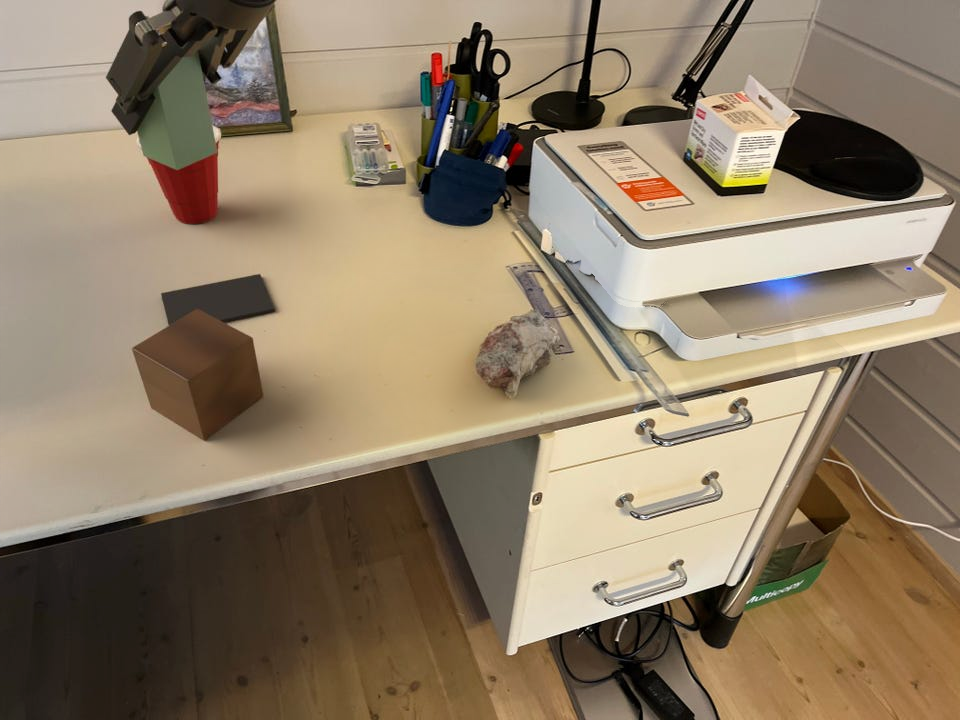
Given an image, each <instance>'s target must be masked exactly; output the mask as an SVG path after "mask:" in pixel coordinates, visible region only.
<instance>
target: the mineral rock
mask: <svg viewBox="0 0 960 720" xmlns="http://www.w3.org/2000/svg"><path fill="white" fill-rule="evenodd" d="M560 339H561V337H560V335H559V331H558V330H557V329H556V327H552V326H551V325H550V324H549V321H548V320H547V319H546V318H545V317H544V316H543V315H542V314H541V313H540V310H539V309H538V308H536V309H530V310H529V311H528V312H526V313H524V314H520V315H514V316H511V317H510V318H509V320H508V321H506V322H504V323H502V324H499V325H497V326H496V327H494V329H493V330H492V331H489V332H488V334H487V336H486V337H485V338H484V341H483V342H482V343H481V344H480V345H479V352H478V355H477V356H476V358H475V361H474V367H475V372H476V374H477V375H478V376H479V377H480V379H481V380H482V381H484V382H486V384H487V386H488V387H489V388H493V389H498V388H500V389H502V390H503V391H504V393H505V396H506V398H510V399H512V400H514V398H516V396H517V394H518V392H519V391H518V390H519V386H520V383H521V379H524V378H526V377H529V376H532V375H533V374H535V373H536V371H537V370H538V369H540V368H543V367H545V366H549V365H550V364H551V363H552V362H551V359H552V355H551V349H552V348H553V346H554V345H555V344H556V343H558V342H559V341H560Z"/></svg>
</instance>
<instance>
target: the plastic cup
mask: <svg viewBox="0 0 960 720" xmlns="http://www.w3.org/2000/svg"><path fill="white" fill-rule="evenodd" d="M212 127H213V132H214V137H215V142H216V148H217V153H216V154H213V155H211V156H209V157H207V158H204V159H202V160H200V161H197V162H195V163H193V164H190V165H188V166H186V167H184V168H181V169H179V170H176V169H173V168H171V167H169V166H166V165H164V164H162V163H159V162H157V161H155V160H152V159H150V158H147V157H146V159H147V162H148V164H149V165H150V166H151V168H152V171H153V173H154V175H155V178H156V180H157V182H158V184H159V186H160V189H161V190H162V193H163V195H164V198H165V200H167V202H168V205H169V207H170V210H171V211H172V214H173V216H174V217H175V219H176V220H177V221H178V222H180V223H183V224H186V225H196V224H197V225H198V224H203V223H206V222H209V221H211V220H213V219H215V217H216V216H217V214H218V210H219V202H218V201H219V199H218V194H219V164H218V163H219V162H218V160H219V148H220V147H219V143H220V140H221V138H222V132H221V128H219V127H217V126H215V125H213V124H212ZM135 144H136V146H137V148H139V149H140V150H141V151H142V148H141V144H140V140H139V136H138V135H137V137H136V138H135Z"/></svg>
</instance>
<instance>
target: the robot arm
mask: <svg viewBox="0 0 960 720" xmlns="http://www.w3.org/2000/svg"><path fill="white" fill-rule="evenodd" d="M276 1H277V0H165V1H164V3H163V5H162V12H159V13H157V14H155V15H153V16H151V17H150V16H149V15H145V14H144V12H143V11H142V10H136V11H134V12H133V13H132V14H130V16H129V17H128V30H127V32H126V35H125V37H124V39H123V40H122V43H121V45H120V47H119V49H118V51H117V52H118V53H117V52H116V56H115V57H114V59H113V61H112V64H111V66H110V68H109V70H108V72H107V73H106V76H105V79H106V81H107V82H108V84H109V85H110V86H111V88H112V89H113V90H114V91H115V93H116V94H117V96H116V98H115V102H114V104H113V107H112V109H111V111H110V112H111V113H112V115H113V116H114V117H115V119H116V120H117V121H118V122H119V124H120V125H121V126H122V128H123V129H124V130H125V132H126V133H127V134H128V136H132V135H133V134H136V133H137V129H138V128H139V126H140V124H141V123H142V121H143V119H144V117H145V116H146V114H147V112H148V110H149V109H150V107H151V105H152V104H153V102H154V100H155V96H154V95H153V94H152V93H153V92H154V91H155V89H156V88H157V87H158V86H159V85H160V84H161V82H162V81H163V80H164V79H165V78H166V77H167V75H168V74H169V73H170V72H171V71H172V70H173V68H174V67H175V66H176V65H177V64H178V63H179V61H180V60H181V59H182V58H183V57H188V56H192V55H194V54H195V52H196V51H198V54H199V59H200V64H201V69H202V75H203V80H204V83H205V82H206V79H207V80H208V83H210V84H211V85H215V84H217V83H219V82H220V81H221V80H222V76H221V74H220V73H219V72H218V70H219V67H220V66H221V67H222V68H223V70H224V69H229V68H230V67H232V66H233V64H234V63H235V62H236V60H237V58H238V57H239V56H240V54H241V52H242V51H243V50H244V48H245V46H246V45H247V43H248V42H249V40H250V39H251V38H252V37H253V34H254V33H255V32H256V31H257V29H258V27H259V26H260V24H261V23H262V22H263V20H264V19H265V18H266V17H267V16H268V15H269V14H270V13H271V12H272V11H273V10H274V9H275V7H276V5H275V3H276Z"/></svg>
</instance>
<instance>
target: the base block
mask: <svg viewBox="0 0 960 720" xmlns="http://www.w3.org/2000/svg"><path fill="white" fill-rule="evenodd" d="M255 348H256V347H255V342H254V338H253V337H252V336H250V335H248V334H246V333H245V332H243V331H241V330H239V329H238V328H235V327H233V326H231V325H229V324H227V322H225V323H224V322H222V321H220V320H218V319H216V318H214V317H212V316H210V315H208V314H206V313H204V312H203V311H201V310H199V309H196V310H194V311H193V312H191V313H189V314H188V315H186V316H184V317H183V318H181V319H179V320H178V321H176V322H174V323H173V324H171V325H167V326H166V327H165V328H163V329H161V330H159V331H158V332H156V333H154V334H153V335H151V336H149V337H148V338H146V339H144V340H143V341H140V342H139V343H138V344H136V345H135V346H133V347H131V351H132V354H133V357H134V361H135V363H136V366H137V369H138V372H139V376H140V378H141V381H142V382H141V383H142V385H143V388H144V391H145V394H146V397H147V400H148V403H149V406H150V408H151V410H154V411H155V412H157V413H158V414H160V415H161V416H164V417H165V418H167V419H168V420H169V421H172V422H173V423H175V424H176V425H178V426H179V427H181V428H183V429H184V430H186V431H188V432H189V433H190V434H192V435H194V436H196V437H197V438H199V439H200V440H202V441H205V442H206V440H208V439H209V438H210V437H212V436H213V435H214V434H216V433H217V432H218V431H220V430H221V429H223V428H224V427H225V426H226V425H228V424H229V423H230V422H232V421H233V420H234V419H236V418H238V416H240V415H241V414H242V413H243V412H245V411H246V410H248V409H249V408H250V407H252V406H253V405H255V404H256V403H257V402H258V401H260V400H261V399H262V398H264V391H263V386H262V381H261V374H260V370H259V364H258V357H257V353H256V349H255Z"/></svg>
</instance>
